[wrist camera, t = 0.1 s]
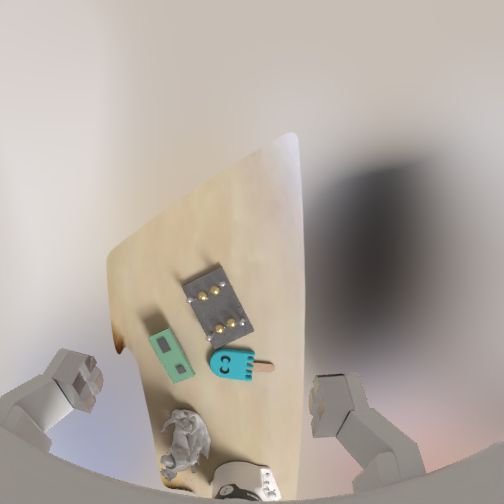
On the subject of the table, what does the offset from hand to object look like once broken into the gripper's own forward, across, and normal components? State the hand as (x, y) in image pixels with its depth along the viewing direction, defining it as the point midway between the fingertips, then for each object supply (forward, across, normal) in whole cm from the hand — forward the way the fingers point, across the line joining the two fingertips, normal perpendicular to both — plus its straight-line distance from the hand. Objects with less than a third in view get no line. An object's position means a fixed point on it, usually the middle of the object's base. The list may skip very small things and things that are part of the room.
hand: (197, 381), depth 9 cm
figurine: (+29, -14, -61) cm, 69 cm away
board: (+37, -16, -39) cm, 56 cm away
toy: (+39, 0, -43) cm, 58 cm away
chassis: (+45, -6, -31) cm, 55 cm away
